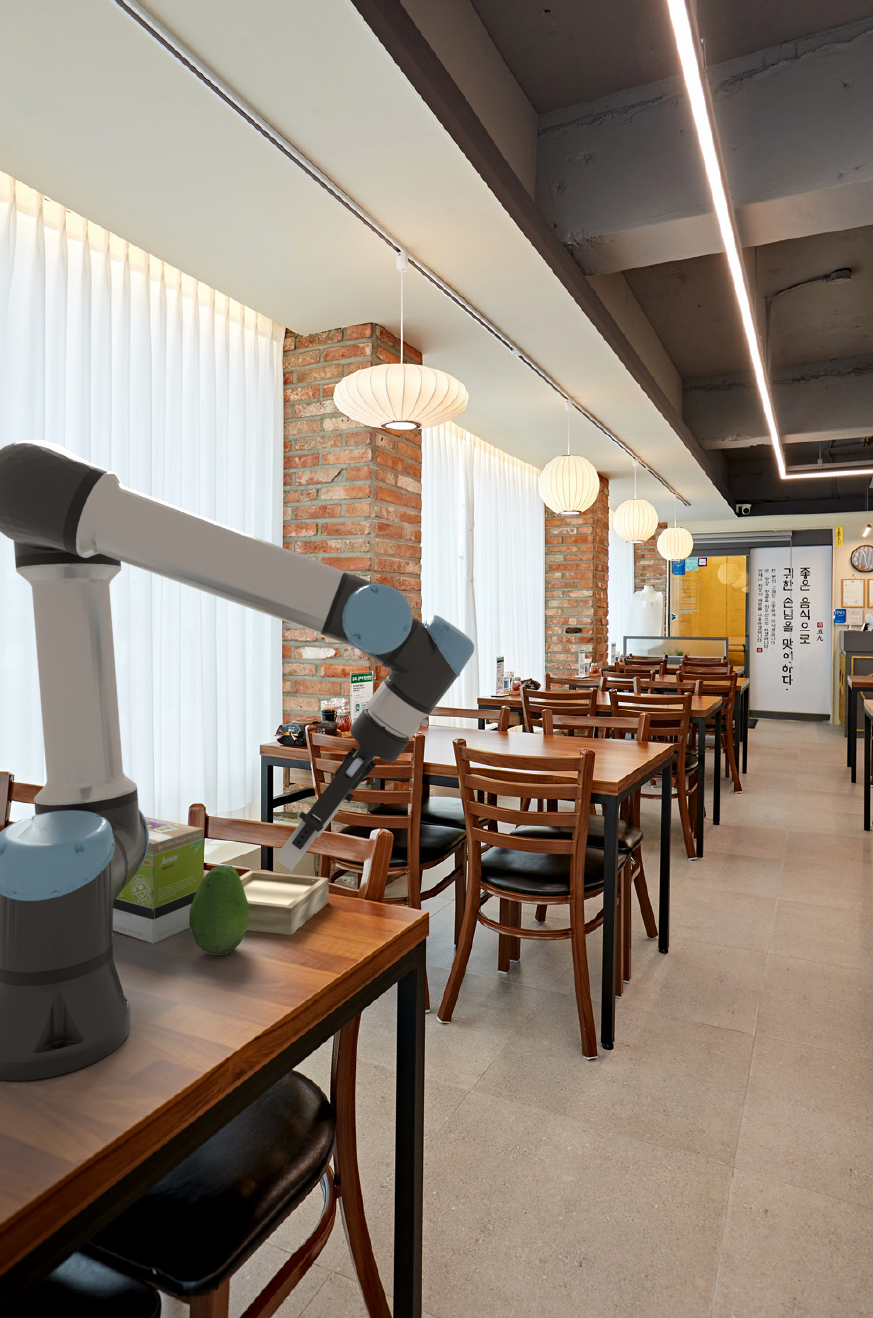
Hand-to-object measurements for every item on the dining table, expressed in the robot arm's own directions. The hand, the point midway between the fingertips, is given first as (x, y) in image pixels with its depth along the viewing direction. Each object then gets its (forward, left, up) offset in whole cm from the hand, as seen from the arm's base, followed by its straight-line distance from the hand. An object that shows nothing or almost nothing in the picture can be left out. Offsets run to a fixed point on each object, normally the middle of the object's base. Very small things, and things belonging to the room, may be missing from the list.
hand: (298, 846), depth 103 cm
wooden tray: (+13, +11, -15) cm, 22 cm away
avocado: (-2, +11, -15) cm, 19 cm away
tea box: (+4, +27, -15) cm, 31 cm away
